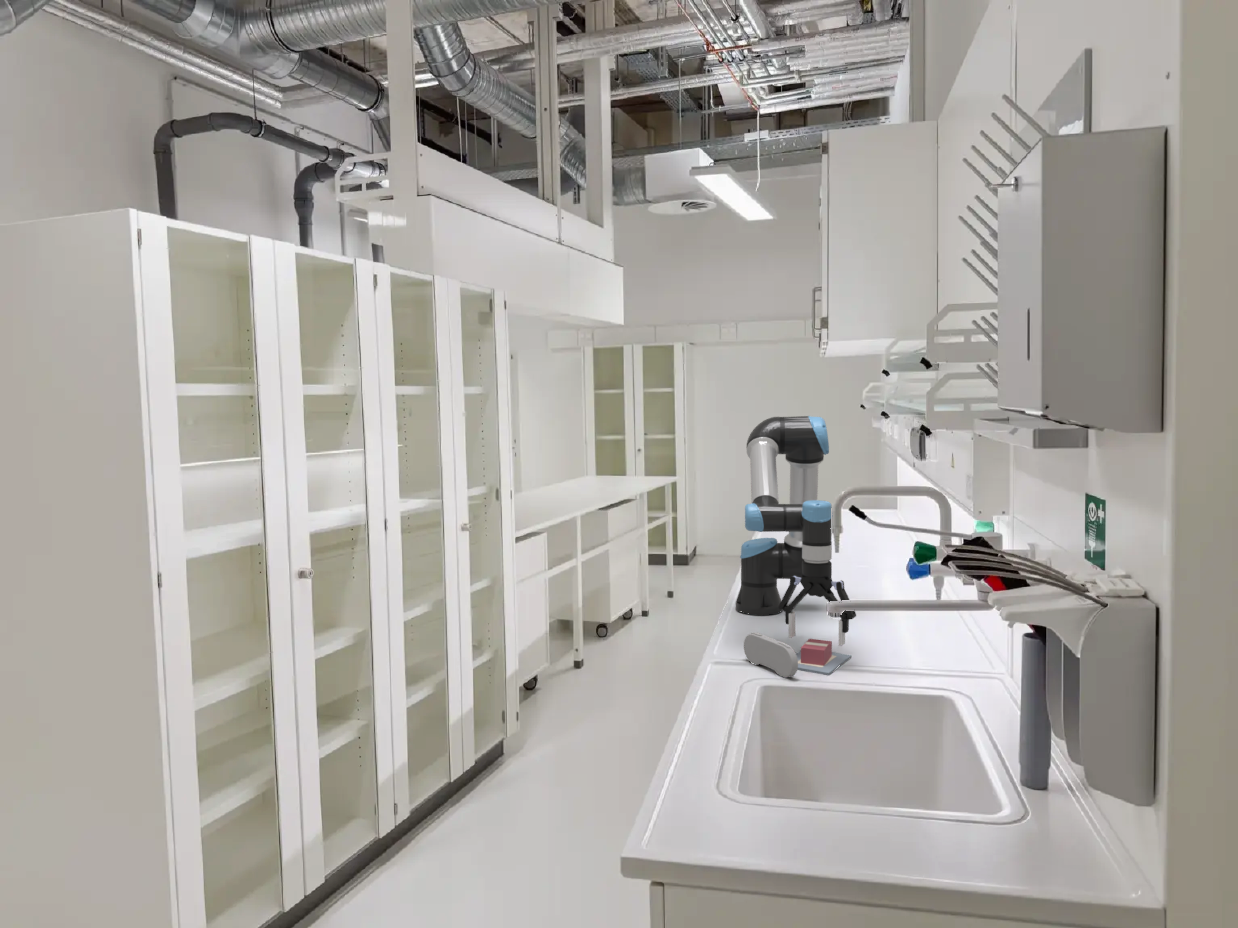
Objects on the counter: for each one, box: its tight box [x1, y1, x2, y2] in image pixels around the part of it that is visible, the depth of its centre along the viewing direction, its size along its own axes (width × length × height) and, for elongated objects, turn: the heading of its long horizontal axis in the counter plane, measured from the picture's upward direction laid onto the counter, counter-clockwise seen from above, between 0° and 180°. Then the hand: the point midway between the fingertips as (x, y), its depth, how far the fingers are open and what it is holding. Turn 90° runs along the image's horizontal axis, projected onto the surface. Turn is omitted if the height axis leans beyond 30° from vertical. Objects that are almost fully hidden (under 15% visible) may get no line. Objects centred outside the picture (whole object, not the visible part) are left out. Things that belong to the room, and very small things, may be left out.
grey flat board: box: [795, 650, 852, 676], centre depth 217 cm, size 17×13×1 cm
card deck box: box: [800, 638, 833, 666], centre depth 217 cm, size 6×9×4 cm, turn 153°
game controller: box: [743, 632, 798, 678], centre depth 212 cm, size 20×2×8 cm, turn 29°
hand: (816, 640), depth 217 cm, fingers open, 13 cm apart
